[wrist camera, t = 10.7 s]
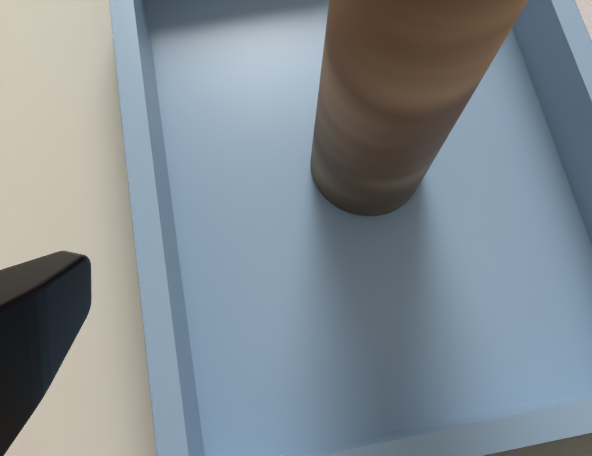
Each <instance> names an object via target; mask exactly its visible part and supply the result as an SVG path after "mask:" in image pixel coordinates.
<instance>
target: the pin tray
mask: <svg viewBox="0 0 592 456" xmlns="http://www.w3.org/2000/svg"><path fill="white" fill-rule="evenodd" d="M109 4H110V14H111V23H112V33H113V42H114V52H115V61H116V71H117V80H118V89H119V99H120V108H121V118H122V127H123V137H124V146H125V156H126V165H127V175H128V184H129V194H130V203H131V213H132V222H133V232H134V241H135V251H136V260H137V270H138V279H139V289H140V298H141V308H142V317H143V326H144V336H145V345H146V355H147V364H148V374H149V383H150V393H151V402H152V412H153V421H154V431H155V440H156V450H157V456H484V455H489V454H494V453H498V452H503V451H508V450H513V449H517V448H522V447H527V446H532V445H536V444H541V443H546V442H550V441H555V440H560V439H565V438H569V437H574V436H579V435H584V434H588V433H592V40H591V38H590V36H589V33H588V31H587V28H586V26H585V24H584V21H583V19H582V16H581V14H580V12H579V9H578V7H577V4H576V2H575V0H528V2H527V4H526V5H525V7H524V9H523V10H522V12H521V14H520V16H519V17H518V19H517V21H516V22H515V24H514V26H513V27H512V29H511V31H510V32H509V34H508V36H507V37H506V39H505V41H504V43H503V44H502V46H501V48H500V49H499V51H498V53H497V54H496V56H495V58H494V59H493V61H492V63H491V64H490V66H489V68H488V70H487V71H486V73H485V75H484V76H483V78H482V80H481V81H480V83H479V85H478V86H477V88H476V90H475V92H474V93H473V95H472V97H471V98H470V100H469V102H468V103H467V105H466V107H465V108H464V110H463V112H462V113H461V115H460V117H459V119H458V120H457V122H456V124H455V125H454V127H453V129H452V130H451V132H450V134H449V135H448V137H447V139H446V141H445V142H444V144H443V146H442V147H441V149H440V151H439V152H438V154H437V156H436V157H435V159H434V161H433V162H432V164H431V166H430V168H429V169H428V171H427V173H426V174H425V176H424V178H423V179H422V181H421V183H420V184H419V186H418V188H417V190H416V191H415V193H414V194H413V196H412V197H411V198H410V199H409V200H408V201H407V202H406V203H405V204H404V205H402V206H401V207H400V208H398V209H396V210H394V211H392V212H390V213H387V214H383V215H378V216H360V215H355V214H351V213H348V212H345V211H343V210H341V209H339V208H337V207H336V206H334V205H333V204H331V203H330V202H329V201H328V200H327V199H326V198H325V197H324V196H323V195H322V194H321V192H320V191H319V189H318V188H317V186H316V184H315V182H314V180H313V177H312V173H311V165H310V160H311V151H312V142H313V134H314V125H315V117H316V109H317V100H318V92H319V83H320V75H321V66H322V58H323V49H324V41H325V32H326V24H327V15H328V7H329V0H109Z"/></svg>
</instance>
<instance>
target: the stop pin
mask: <svg viewBox="0 0 592 456" xmlns="http://www.w3.org/2000/svg"><path fill="white" fill-rule="evenodd" d="M527 2H528V0H329V7H328V15H327V24H326V32H325V41H324V49H323V58H322V66H321V75H320V83H319V92H318V100H317V109H316V117H315V125H314V134H313V142H312V151H311V160H310V165H311V173H312V177H313V180H314V182H315V184H316V186H317V188H318V189H319V191H320V192H321V194H322V195H323V196H324V197H325V198H326V199H327V200H328V201H329V202H330V203H331V204H333V205H334V206H336V207H337V208H339V209H341V210H343V211H345V212H348V213H351V214H355V215H360V216H378V215H383V214H387V213H390V212H392V211H394V210H396V209H398V208H400V207H401V206H402V205H404V204H405V203H406V202H407V201H408V200H409V199H410V198H411V197H412V196H413V194H414V193H415V191H416V190H417V188H418V186H419V184H420V183H421V181H422V179H423V178H424V176H425V174H426V173H427V171H428V169H429V168H430V166H431V164H432V162H433V161H434V159H435V157H436V156H437V154H438V152H439V151H440V149H441V147H442V146H443V144H444V142H445V141H446V139H447V137H448V135H449V134H450V132H451V130H452V129H453V127H454V125H455V124H456V122H457V120H458V119H459V117H460V115H461V113H462V112H463V110H464V108H465V107H466V105H467V103H468V102H469V100H470V98H471V97H472V95H473V93H474V92H475V90H476V88H477V86H478V85H479V83H480V81H481V80H482V78H483V76H484V75H485V73H486V71H487V70H488V68H489V66H490V64H491V63H492V61H493V59H494V58H495V56H496V54H497V53H498V51H499V49H500V48H501V46H502V44H503V43H504V41H505V39H506V37H507V36H508V34H509V32H510V31H511V29H512V27H513V26H514V24H515V22H516V21H517V19H518V17H519V16H520V14H521V12H522V10H523V9H524V7H525V5H526V4H527Z"/></svg>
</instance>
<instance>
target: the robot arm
mask: <svg viewBox="0 0 592 456" xmlns="http://www.w3.org/2000/svg"><path fill="white" fill-rule="evenodd" d="M90 306H91V263H90V260H89V258H88V257H87V256H85V255H82V254H77V253H72V252H68V251H59V252H56V253H53V254H49V255H46V256H43V257H40V258H37V259H34V260H31V261H27V262H24V263H21V264H18V265H15V266H12V267H8V268H5V269H2V270H0V456H4V454H5V453H6V451H7V450H8V448H9V447H10V446H11V444H12V443H13V441H14V440H15V438H16V437H17V435H18V434H19V432H20V431H21V430H22V428H23V427H24V425H25V424H26V422H27V421H28V419H29V418H30V416H31V415H32V414H33V412H34V411H35V409H36V408H37V406H38V405H39V403H40V401H41V400H42V398H43V397H44V395H45V393H46V392H47V390H48V388H49V386H50V385H51V383H52V381H53V379H54V377H55V375H56V373H57V372H58V370H59V368H60V366H61V364H62V362H63V360H64V358H65V357H66V355H67V353H68V351H69V349H70V347H71V345H72V343H73V342H74V340H75V338H76V336H77V334H78V332H79V330H80V328H81V327H82V325H83V323H84V321H85V319H86V317H87V315H88V313H89V310H90Z"/></svg>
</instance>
